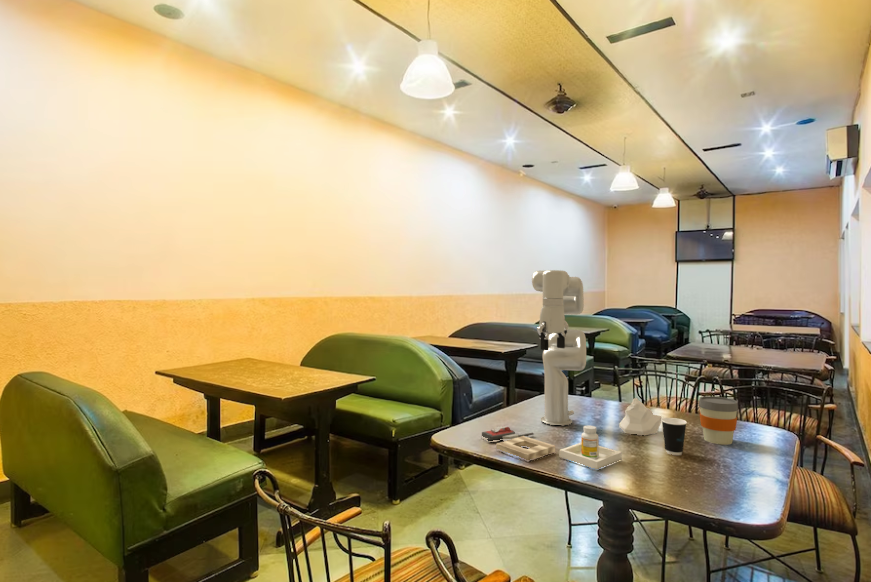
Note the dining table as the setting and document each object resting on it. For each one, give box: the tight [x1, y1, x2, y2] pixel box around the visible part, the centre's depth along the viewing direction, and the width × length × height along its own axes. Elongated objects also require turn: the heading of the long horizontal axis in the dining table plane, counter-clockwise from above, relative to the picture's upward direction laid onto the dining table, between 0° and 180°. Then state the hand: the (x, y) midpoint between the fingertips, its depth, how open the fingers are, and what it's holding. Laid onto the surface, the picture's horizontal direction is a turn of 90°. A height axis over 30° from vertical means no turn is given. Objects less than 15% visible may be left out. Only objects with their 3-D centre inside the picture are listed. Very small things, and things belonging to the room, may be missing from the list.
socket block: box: [495, 436, 556, 460], centre depth 163 cm, size 14×14×2 cm
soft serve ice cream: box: [618, 397, 662, 436], centre depth 186 cm, size 12×15×14 cm
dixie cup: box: [661, 417, 688, 456], centre depth 163 cm, size 8×8×11 cm
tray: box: [558, 442, 623, 469], centre depth 156 cm, size 14×14×3 cm
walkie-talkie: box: [481, 425, 535, 441], centre depth 179 cm, size 9×4×20 cm
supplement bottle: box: [580, 425, 600, 459], centre depth 156 cm, size 5×5×10 cm
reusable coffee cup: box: [698, 395, 739, 445], centre depth 176 cm, size 13×13×15 cm
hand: (552, 349), depth 179 cm, fingers open, 9 cm apart
